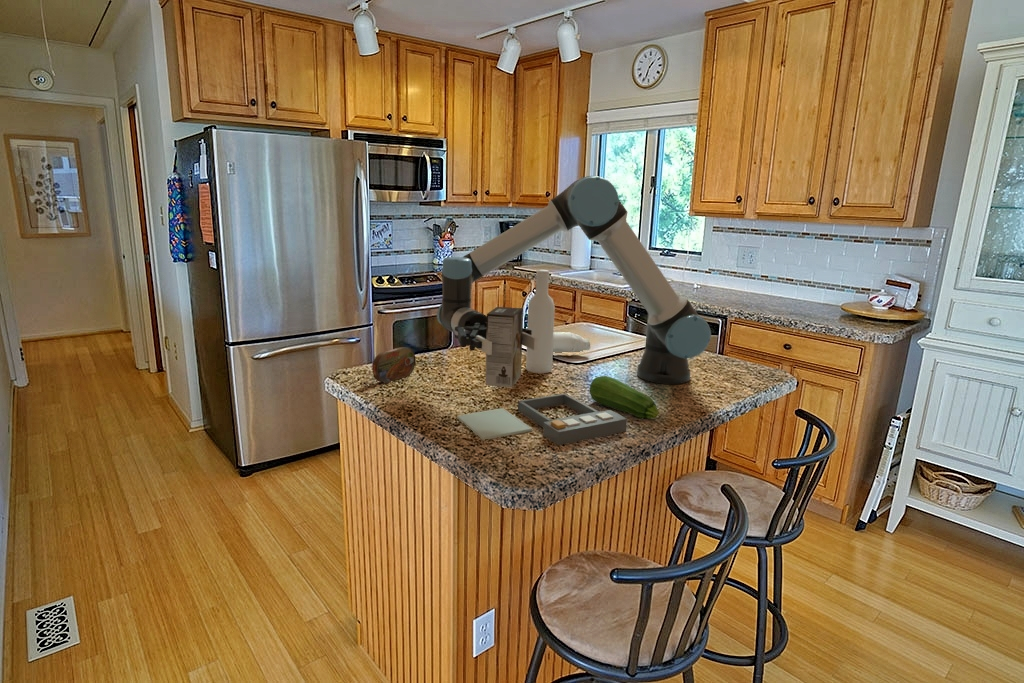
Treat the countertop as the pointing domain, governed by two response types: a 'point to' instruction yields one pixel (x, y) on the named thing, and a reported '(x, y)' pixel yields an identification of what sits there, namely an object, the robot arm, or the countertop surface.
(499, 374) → the coffee box
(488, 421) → the sage mat
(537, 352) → the bottle
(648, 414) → the vegetable
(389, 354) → the tin
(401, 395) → the countertop surface
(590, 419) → the frame
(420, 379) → the countertop surface
